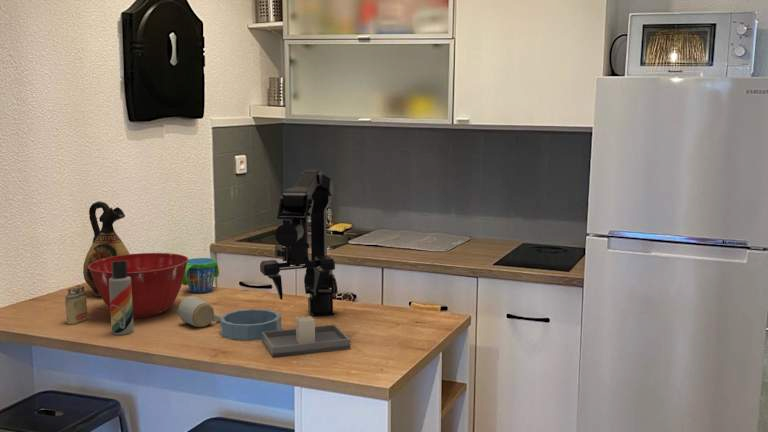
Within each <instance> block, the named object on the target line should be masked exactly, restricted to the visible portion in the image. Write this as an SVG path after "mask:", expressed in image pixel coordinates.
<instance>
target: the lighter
mask: <svg viewBox="0 0 768 432" xmlns="http://www.w3.org/2000/svg"><path fill="white" fill-rule="evenodd" d="M67 293H68V294H65V303H64V304H65V314H66V315H65V318H66V319H65V320H66V324H68V325H75V324H76V325H77V324H79V323H81V322H83V321H86V320H88V307H87V306H88V305H87V294H86V291H85V286H84V285H82V286H81V285H80V284H78V285H76V286H74V287H73V288H71V287H70V288H68V289H67Z"/></svg>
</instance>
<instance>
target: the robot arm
mask: <svg viewBox="0 0 768 432" xmlns="http://www.w3.org/2000/svg"><path fill="white" fill-rule="evenodd" d="M301 175H302V176H301V177H300V178H299V180H298V181H297V183H296V184H295V186H294V187H289V188H287V189H286V190H284V191H283V193H282V194H281V195H280V198H279V205H278V210H277V220H282V224H281V225H278V227H277V229H276V231H275V233H274V235H275V236H274V237H275V240H276V242H277V243H278V245H277V244H276V245H274V255H275V258H282V261H283V262H278V261H277V260H276V259H270V260H267V259H266V260H261V262H260V263H259V264H260V265H259V271H260V273H262V275H263V276H265V277H268V278H269V279H271V280H272V282H273V284H274V286H275V290H276V292H277V295H278V297H279V299H280V301H281V300H283V298H284V297H283V295H284V294H283V285H282V283H283V281H282V275H281V274H280V272H281V271H287V270H300V269H305V273H304V277H303V279H304V281H303V282H304V291H305V295H309V297H308V298H307V312H308V313H310V314H311V315H312V317H321V316H331V315H335V314H336V313H335V311H334V295H336V294H338V284H337V283H338V282H337V279H336V276H335V274H333V273H334V270H336V262H335V259H334V258H332V257H331V256H329V255H328V252H327V251H328V247H327V246H328V245H327V244H328V243H327V241H328V240H327V238H328V237H327V236H328V235H327V232H328V231H327V209H328V207H329V206H330V204H331V202H332V201H333V200H332V199H333V196H334V193H335V192H334V191H335V190H334V189H335V187H334V184H333V181H332V179H331V178H330V177H328V176H326V175H324V174H323V172H322V170H319V169H306V170H302V173H301ZM309 218H310V240H311V241H310V243H311V244H310V243H309V227H308V226H309V221H308V220H309ZM310 247H311V249H310V251H311V260H310V258H309V257H310V256H309V248H310Z"/></svg>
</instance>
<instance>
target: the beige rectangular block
mask: <svg viewBox="0 0 768 432" xmlns="http://www.w3.org/2000/svg"><path fill="white" fill-rule="evenodd" d="M315 321H316V319H314V318H313V316H311V315H306V316H297V317H295V329H296V340H297V341H298V343H299V344H305V343H314V342H315V327H316V322H315Z"/></svg>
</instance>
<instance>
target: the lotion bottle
mask: <svg viewBox="0 0 768 432" xmlns="http://www.w3.org/2000/svg"><path fill="white" fill-rule="evenodd" d="M109 291H110V309H109V310H110V324H111V333H112V334H113V335H116V336H123V335H124V336H125V335H130V334H132V333H133V332H134V318H133V307H132V287H131V277H129V276H127V262H126V261H118V262H112V278H110V279H109Z"/></svg>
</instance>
